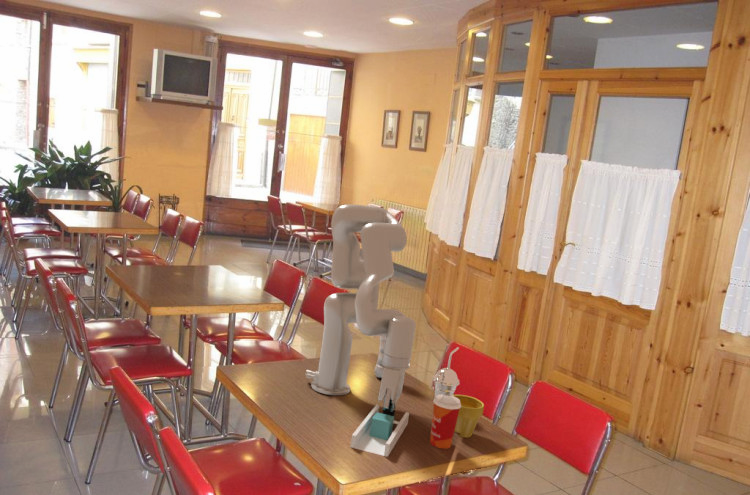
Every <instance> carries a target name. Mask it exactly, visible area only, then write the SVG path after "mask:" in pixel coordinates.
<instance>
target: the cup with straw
mask: <svg viewBox="0 0 750 495" xmlns="http://www.w3.org/2000/svg"><path fill="white" fill-rule="evenodd" d="M459 349H460V347H459V346H457V347H456V348H454V349H453V350H452V351H450V353H449V357H448V362H447V367H444V368H440V369H439V370H438V371H437V373H435V374H434V375H433V377H432V380H433V382H434V398H435V397H436V396H437V395H440V394H443V395H449V396H452V395H455V394H454V393H455V392H456V389H457V386H459V385H460V379H459V378H458V375H457V372H456V371H454V370H453V369H452V368H451V361H452V357H453V356H452V355H453V354H454V353H455V352H457V351H458V350H459Z"/></svg>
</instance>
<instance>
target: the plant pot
mask: <svg viewBox="0 0 750 495" xmlns="http://www.w3.org/2000/svg"><path fill="white" fill-rule="evenodd" d="M452 396H454V397H456V398H458V399H459V400H460V404H461V408H460V409H459V414H458V418H457V422H456V427H455V431H454V433H457V434H459V435H458V437H459V438H471V437H472V436H473V434H474V431H475V428H476V426H477V424H478V421H479V419H481V418H482V416H483V413H484V409H485V404H484V402H482V401H481V400H479V399H478V398H476V397H473V396H469V395H465V394H453V395H452Z"/></svg>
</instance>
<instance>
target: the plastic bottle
mask: <svg viewBox="0 0 750 495" xmlns="http://www.w3.org/2000/svg"><path fill="white" fill-rule="evenodd" d="M386 338H387V336H379V350H378V357H377V361H376V364H375V367H374V374H375V376H376V377H377V378H379V379H382V376H383V372H384V368H385V366H384V365H383V358H384V351H385V344H386Z"/></svg>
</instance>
